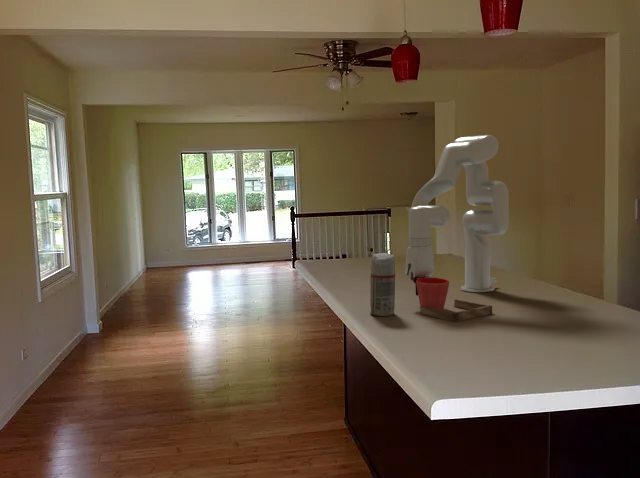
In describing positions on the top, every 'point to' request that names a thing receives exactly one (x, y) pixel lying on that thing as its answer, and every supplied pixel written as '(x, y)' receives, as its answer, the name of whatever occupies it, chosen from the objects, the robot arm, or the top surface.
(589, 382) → the top surface
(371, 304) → the spray can
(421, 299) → the flower pot
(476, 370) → the top surface
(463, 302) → the wooden bars
